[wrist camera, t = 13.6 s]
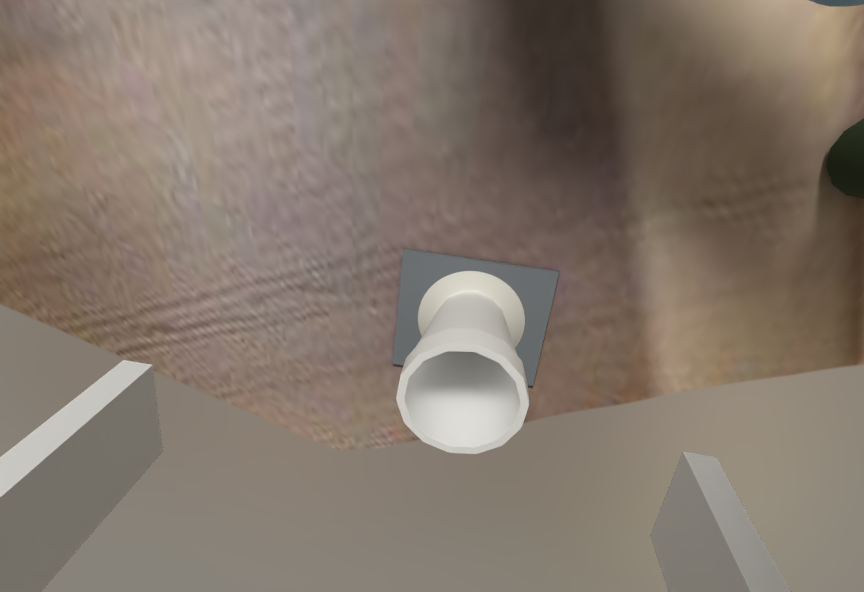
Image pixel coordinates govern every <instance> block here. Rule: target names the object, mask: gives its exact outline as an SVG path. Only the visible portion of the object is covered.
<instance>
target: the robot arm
mask: <svg viewBox="0 0 864 592" xmlns="http://www.w3.org/2000/svg"><path fill="white" fill-rule="evenodd" d="M810 1H813V2H815V3H817V4H821V5H826V6H856V5H862V4H864V0H810ZM162 448H163V447H162V439H161V431H160V422H159V415H158V406H157V397H156V389H155V381H154V373H153V365H150V364H144V363H137V362H131V361H125V360H123V361H122V362H121V363H119V364H118V365H117V366H116V367H114V368H113V369H112V370H111V371H109V372H108V373H107V374H106V375H104V376H103V377H102V378H100V379H99V380H98V381H97V382H95V383H94V384H93V385H92V386H90V387H89V388H88V389H87V390H85V391H84V392H83V393H81V394H80V395H79V396H78V397H76V398H75V399H74V400H72V401H71V402H70V403H69V404H67V405H66V406H65V407H64V408H62V409H61V410H60V411H59V412H57V413H56V414H55V415H54V416H52V417H51V418H50V419H48V420H47V421H46V422H45V423H43V424H42V425H41V426H40V427H38V428H37V429H36V430H34V431H33V432H32V433H31V434H29V435H28V436H27V437H26V438H24V439H23V440H22V441H21V442H19V443H18V444H17V445H15V446H14V447H13V448H12V449H10V450H9V451H8V452H7V453H5V454H4V455H3V456H2V457H0V592H42V590H43V589H44V588H45V587H46V586H47V585H48V584H49V582H50V581H51V580H52V579H53V578H54V577H55V575H56V574H57V573H58V572H59V571H60V570H61V569H62V567H63V566H64V565H65V564H66V563H67V562H68V560H69V559H70V558H71V557H72V556H73V555H74V553H75V552H76V551H77V550H78V549H79V548H80V547H81V545H82V544H83V543H84V542H85V541H86V540H87V538H88V537H89V536H90V535H91V534H92V533H93V532H94V530H95V529H96V528H97V527H98V526H99V525H100V523H101V522H102V521H103V520H104V519H105V518H106V517H107V515H108V514H109V513H110V512H111V511H112V510H113V508H114V507H115V506H116V505H117V504H118V503H119V501H120V500H121V499H122V498H123V497H124V496H125V494H126V493H127V492H128V491H129V490H130V489H131V488H132V486H133V485H134V484H135V483H136V482H137V481H138V480H139V478H140V477H141V476H142V475H143V474H144V473H145V471H146V470H147V469H148V468H149V467H150V466H151V464H152V463H153V462H154V461H155V460H156V459H157V458H158V456H159V455H160V454H161V453H162V452H163V449H162ZM651 539H652V542H653V545H654V548H655V551H656V555H657V558H658V561H659V564H660V567H661V570H662V573H663V576H664V579H665V582H666V585H667V588H668V591H669V592H791V590H790V589H789V587H788V585H787V583H786V582H785V580H784V578H783V576H782V575H781V573H780V571H779V569H778V567H777V565H776V564H775V562H774V560H773V558H772V556H771V555H770V553H769V551H768V549H767V548H766V546H765V544H764V542H763V540H762V539H761V537H760V535H759V533H758V531H757V530H756V528H755V526H754V524H753V522H752V521H751V519H750V517H749V515H748V513H747V512H746V510H745V508H744V506H743V505H742V503H741V501H740V499H739V497H738V496H737V494H736V492H735V490H734V488H733V487H732V485H731V483H730V481H729V480H728V478H727V476H726V474H725V472H724V470H723V469H722V467H721V465H720V463H719V461H718V460H717V458H716V457H714V456H707V455H701V454H695V453H689V452H683V453H682V455H681V458H680V461H679V463H678V466H677V468H676V471H675V473H674V476H673V478H672V481H671V484H670V486H669V489H668V491H667V494H666V497H665V499H664V502H663V504H662V507H661V510H660V512H659V514H658V517H657V520H656V522H655V525H654V527H653V530H652V532H651Z"/></svg>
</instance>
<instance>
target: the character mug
mask: <svg viewBox="0 0 864 592" xmlns="http://www.w3.org/2000/svg"><path fill="white" fill-rule="evenodd" d="M827 170H828V172H829V175H830V178H831V181H832V184H833V185H835V186H836V187H837V188H838V189H840V190H841V191H842V192H843V193H845V194H846V195H850V196H855V197H860V198H864V119H862V120H861V121H859V122H858V123H856V124H855V125H853V126H852V127H850V128H849V129H847V130H845V131H844V132H843V134H842V135H841V136H840V138H839V139H838V140H837V141H836V143H835V144H834V145H833V147H832V148H831V150H830V155H829V159H828V164H827Z"/></svg>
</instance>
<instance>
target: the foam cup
mask: <svg viewBox="0 0 864 592" xmlns="http://www.w3.org/2000/svg"><path fill="white" fill-rule="evenodd" d="M396 400H397V403H398V406H399V409H400V412H401V415H402V418H403V421H404V423H405V424H406V425H407V426H408V427H409V428H410V429H411V430H412V431H413V432H414V433H415V434H416V435H417V436H418V437H419V438H420V439H421V440H422V441H423V442H425V443H427V444H429V445H432V446H434V447H436V448H439V449H441V450H443V451H446V452H448V453H465V454H479V453H481V452H484V451H487V450H490V449H493V448H496V447H499V446H502V445H504V444H505V443H506V442H507V441H508V440H509V439H510V438H511V437H512V436H513V435H514V434H515V433H516V432H517V431H519V430H520V428H522V425H523V422H524V419H525V416H526V413H527V410H528V406H529V394H528V385H527V380H526V376H525V371H524V367H523V363H522V360H521V359H520V358H519V357H518V356H517V353H516V350H515V347H514V344H513V341H512V338H511V335H510V332H509V329H508V326H507V323H506V320H505V317H504V314H503V311H502V309H501V307H500V306H499V305H498V304H497V303H496V301H495V300H494V299H493V298H492V297H490V296H488V295H486V294H484V293H482V292H479V291H461V292H458V293H456V294H454V295H451V296H449V297H448V298H447V299H446V300H445V302H444V303H443V304H442V305H441V306H440V308H439V309H438V311H437V312H436V314H435V316H434V317H433V319H432V321H431V322H430V324H429V326H428V327H427V329H426V331H425V332H424V334H423V336H422V337H421V339H420V341H419V342H418V344H417V346H416V347H415V348H414V349H413V351H412V352H411V353H410V354H409V355H408V356H407V358H406V360H405V363H404V366H403V369H402V373H401V376H400V381H399V387H398V392H397V397H396Z"/></svg>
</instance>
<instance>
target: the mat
mask: <svg viewBox="0 0 864 592" xmlns="http://www.w3.org/2000/svg"><path fill="white" fill-rule="evenodd" d="M558 275H559V271H555V270H548V269H541V268H534V267H527V266H521V265H514V264H507V263H500V262H493V261H487V260H480V259H473V258H466V257H459V256H453V255H446V254H439V253H432V252H425V251H418V250H412V249H405V248H404V249H403V257H402V268H401V278H400V288H399V298H398V309H397V319H396V329H395V339H394V349H393V360H392V364H397V365H403V366H404V363H405V360H406V358H407V356H408V355H409V354H410V353H411V352H412V351H413V349H414V348H415V347H416V346H417V344H418V342H419V341H420V339H421V337H422V336H423V334H424V332H425V331H426V329H427V327H428V326H429V324H430V322H431V321H432V319H433V317H434V316H435V314H436V312H437V311H438V309H439V308H440V306H441V305H442V304H443V303H444V302H445V300H446V299H447V298H448V297H449V296H451V295H454V294H456V293H458V292H461V291H479V292H482V293H484V294H486V295H488V296H490V297H492V298H493V299H494V300H495V301H496V303H497V304H498V305H499V306H500V307H501V309H502V311H503V314H504V317H505V320H506V323H507V326H508V329H509V332H510V335H511V338H512V341H513V344H514V347H515V350H516V353H517V356H518V357H519V358H520V359H521V360H522V363H523V367H524V371H525V376H526V380H527V385H528V386H533V384H534V380H535V376H536V371H537V367H538V363H539V358H540V354H541V349H542V345H543V341H544V336H545V332H546V328H547V323H548V319H549V315H550V310H551V306H552V301H553V297H554V293H555V288H556V284H557V280H558Z"/></svg>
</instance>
